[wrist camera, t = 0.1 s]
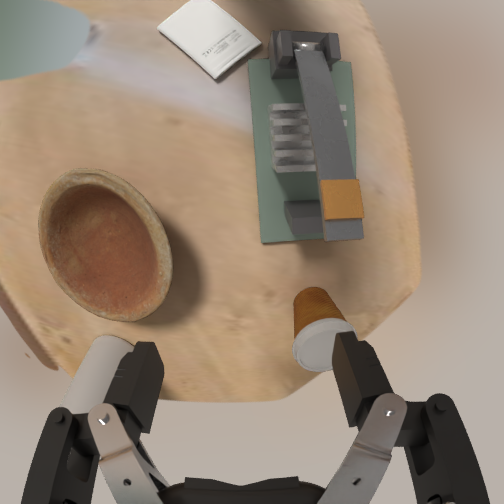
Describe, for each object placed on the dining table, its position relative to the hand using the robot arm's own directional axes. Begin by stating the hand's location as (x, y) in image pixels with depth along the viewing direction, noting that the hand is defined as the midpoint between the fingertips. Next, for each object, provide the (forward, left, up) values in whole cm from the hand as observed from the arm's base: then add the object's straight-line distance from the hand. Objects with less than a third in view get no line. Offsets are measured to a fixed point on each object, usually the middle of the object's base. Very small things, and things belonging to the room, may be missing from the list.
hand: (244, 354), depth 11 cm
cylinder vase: (+31, -30, -29) cm, 53 cm away
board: (-6, +9, -29) cm, 31 cm away
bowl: (+4, -21, -29) cm, 37 cm away
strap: (-9, +8, -16) cm, 20 cm away
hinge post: (-18, +8, -29) cm, 35 cm away
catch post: (+2, +8, -29) cm, 30 cm away
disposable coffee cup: (+19, +10, -29) cm, 36 cm away
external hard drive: (-24, -3, -30) cm, 38 cm away
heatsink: (-8, +8, -29) cm, 31 cm away
